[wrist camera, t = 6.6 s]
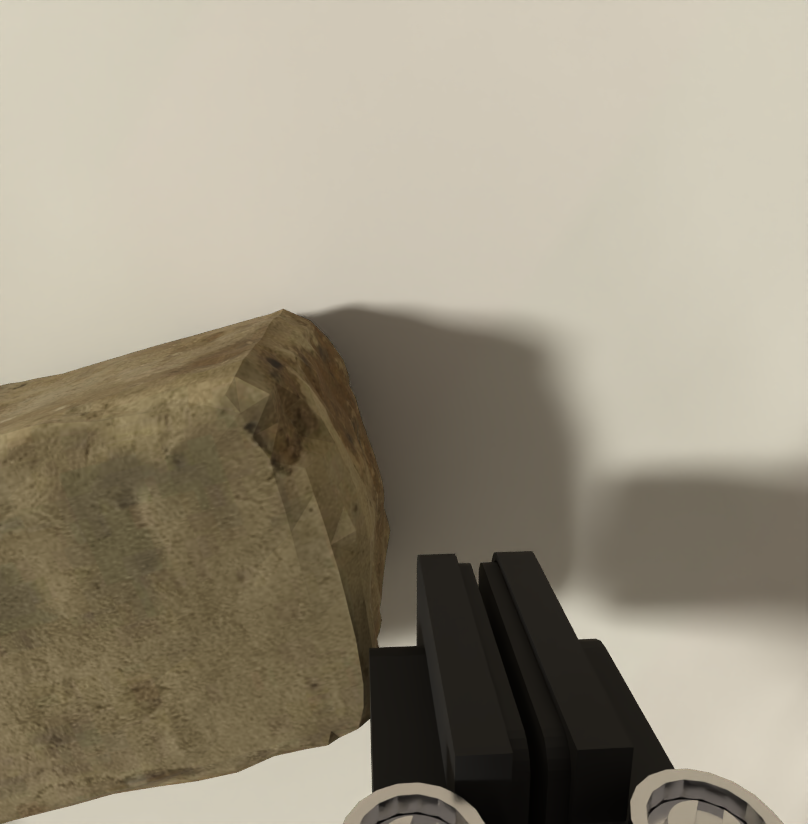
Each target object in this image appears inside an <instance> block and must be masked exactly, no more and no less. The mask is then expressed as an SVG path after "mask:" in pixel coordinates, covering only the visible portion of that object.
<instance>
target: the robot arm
mask: <svg viewBox="0 0 808 824" xmlns="http://www.w3.org/2000/svg"><path fill="white" fill-rule="evenodd" d="M369 673H370V723H371V765H372V794H370V795H369V796H367V797H366V798H364V799H363V800H361V801H359V802H358V803H357V805H356V806H355V807H354V808H353V809H352V811H351V812H350V813H349V814H348V815H347V816H346V818H345V820H344V823H343V824H784V823H783V822H782V821H781V820H780V819H779V818H778V817H777V815H776V814H775V813H774V812H773V811H772V810H771V809H770V808H769V807H767V806H766V805H765V804H764V803H763V802H762V801H761V800H760V799H759V798H758V797H757V796H755V795H754V794H752V793H751V792H749V791H748V790H746V789H744V788H743V787H741V786H739V785H738V784H736V783H734V782H733V781H730V780H728V779H725V778H722V777H720V776H717V775H715V774H712V773H709V772H703V771H698V770H692V769H674V767H673V765H672V764H671V762H670V760H669V758H668V756H667V755H666V753H665V751H664V749H663V748H662V746H661V744H660V742H659V741H658V739H657V737H656V735H655V734H654V732H653V730H652V728H651V727H650V725H649V723H648V721H647V720H646V718H645V716H644V714H643V713H642V711H641V709H640V707H639V706H638V704H637V702H636V700H635V698H634V697H633V695H632V693H631V691H630V690H629V688H628V686H627V684H626V683H625V681H624V679H623V677H622V676H621V674H620V672H619V670H618V669H617V667H616V665H615V663H614V662H613V660H612V658H611V656H610V655H609V653H608V651H607V649H606V648H605V646H604V645H603V644H602V642H601V641H600V640H597V639H579V640H578V638H577V636H576V634H575V632H574V630H573V628H572V626H571V624H570V623H569V621H568V619H567V617H566V615H565V613H564V611H563V609H562V607H561V605H560V603H559V601H558V599H557V597H556V595H555V593H554V592H553V590H552V588H551V586H550V584H549V582H548V580H547V578H546V576H545V574H544V572H543V570H542V568H541V566H540V564H539V562H538V561H537V559H536V557H535V555H534V553H533V552H532V551H524V552H494V554H493V558H492V562H488V563H480V567H479V587H478V585H477V582H476V579H475V576H474V573H473V569H472V566H471V564H470V563H459V564H458V561H457V557H456V555H455V554H433V555H418V557H417V646H407V647H383V648H369Z"/></svg>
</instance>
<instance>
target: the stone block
mask: <svg viewBox="0 0 808 824" xmlns="http://www.w3.org/2000/svg"><path fill="white" fill-rule="evenodd" d="M389 534H390V528H389V524H388V520H387V516H386V513H385V510H384V490H383V483H382V479H381V475H380V472H379V469H378V465H377V462H376V458H375V455H374V452H373V449H372V447H371V444H370V442H369V439H368V437H367V434H366V431H365V428H364V425H363V422H362V419H361V416H360V412H359V409H358V405H357V402H356V398H355V396H354V394H353V392H352V390H351V388H350V386H349V375H348V372H347V369H346V366H345V364H344V361H343V359H342V358H341V356H340V355H339V353H338V352H337V351H336V349H335V348H334V346H333V345H332V343H331V342H330V340H329V339H328V338H327V337H326V336H325V335H324V334H323V333H322V332H321V331H320V330H319V329H318V328H317V327H316V326H315V325H314V324H313V323H312V322H311V321H310V320H308V319H305V318H303V317H301V316H298V315H296V314H294V313H291V312H289V311H287V310H284V309H282V310H279V311H277V312H274V313H272V314H269V315H265V316H261V317H257V318H254V319H250V320H247V321H243V322H240V323H237V324H233V325H230V326H226V327H222V328H219V329H215V330H212V331H208V332H205V333H201V334H198V335H194V336H191V337H187V338H183V339H179V340H176V341H172V342H168V343H165V344H161V345H157V346H154V347H150V348H147V349H144V350H140V351H137V352H133V353H130V354H127V355H123V356H120V357H117V358H113V359H110V360H107V361H103V362H100V363H97V364H93V365H90V366H87V367H83V368H80V369H77V370H73V371H70V372H67V373H64V374H59V375H53V376H48V377H42V378H37V379H33V380H28V381H24V382H18V383H11V384H6V385H2V386H0V824H2V823H5V822H9V821H12V820H16V819H20V818H24V817H28V816H32V815H36V814H40V813H44V812H48V811H52V810H56V809H60V808H64V807H68V806H72V805H75V804H79V803H82V802H86V801H90V800H93V799H97V798H100V797H104V796H108V795H111V794H115V793H121V792H128V791H134V790H140V789H146V788H152V787H158V786H165V785H172V784H179V783H186V782H194V781H199V780H204V779H209V778H213V777H218V776H223V775H227V774H232V773H237V772H239V771H242V770H244V769H246V768H248V767H251V766H253V765H255V764H257V763H260V762H262V761H264V760H266V759H268V758H271V757H273V756H277V755H281V754H286V753H290V752H295V751H299V750H304V749H309V748H315V747H321V746H327V745H329V744H331V743H332V742H333V741H335V740H336V739H338V738H339V737H342V736H344V735H346V734H348V733H350V732H352V731H354V730H356V729H358V728H360V727H361V726H362V725H363V724H364V723H366V722H367V721H368V720H369V719H370V673H369V648H379V646H378V642H377V637H378V634H379V632H380V627H381V621H382V619H381V614H380V604H381V597H382V584H383V576H384V567H385V558H386V552H387V546H388V540H389Z"/></svg>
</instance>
